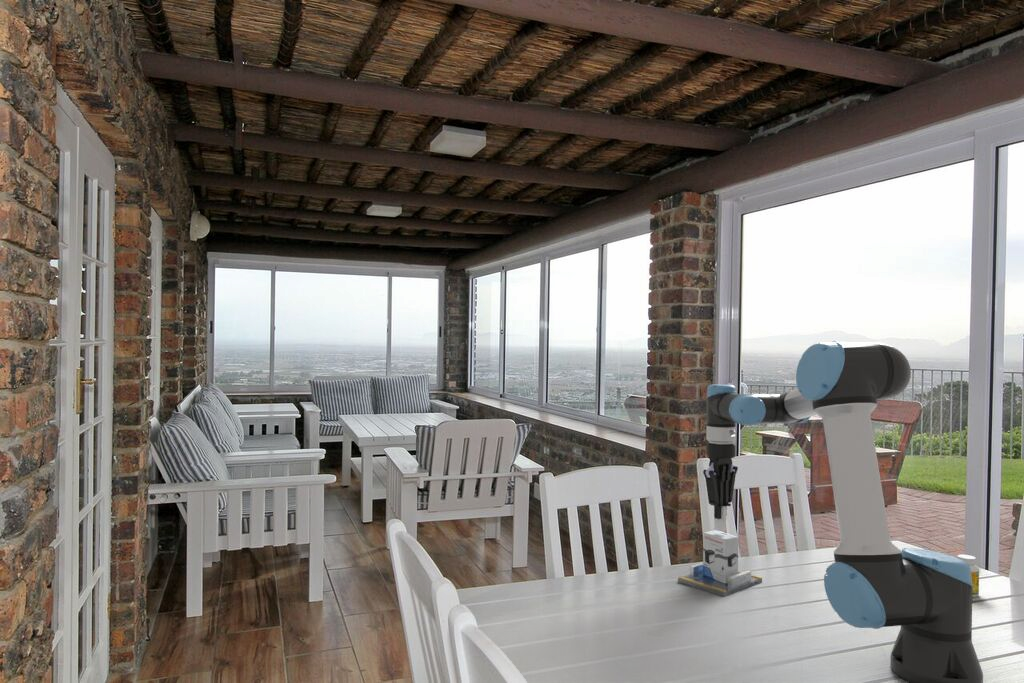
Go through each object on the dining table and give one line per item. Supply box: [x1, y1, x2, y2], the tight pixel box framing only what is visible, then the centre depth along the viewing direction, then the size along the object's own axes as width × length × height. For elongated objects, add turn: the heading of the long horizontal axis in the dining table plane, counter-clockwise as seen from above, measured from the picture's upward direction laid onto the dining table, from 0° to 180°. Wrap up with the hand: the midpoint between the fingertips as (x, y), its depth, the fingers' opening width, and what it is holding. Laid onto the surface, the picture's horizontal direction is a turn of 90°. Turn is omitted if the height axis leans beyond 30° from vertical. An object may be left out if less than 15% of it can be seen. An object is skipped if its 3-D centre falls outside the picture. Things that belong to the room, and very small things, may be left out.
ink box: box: [702, 529, 739, 584], centre depth 187 cm, size 8×5×12 cm, turn 27°
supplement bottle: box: [956, 554, 980, 598], centre depth 179 cm, size 5×5×10 cm
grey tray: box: [677, 561, 763, 597], centre depth 187 cm, size 18×14×4 cm
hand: (720, 530), depth 187 cm, fingers closed
